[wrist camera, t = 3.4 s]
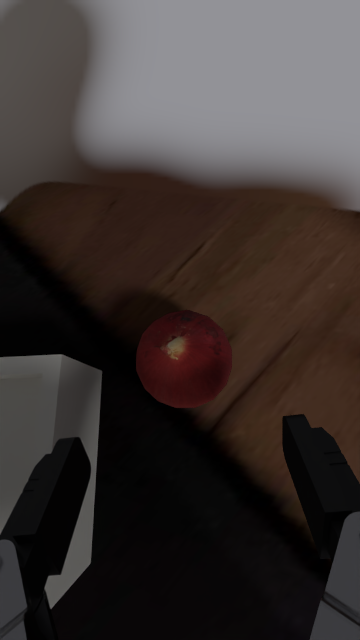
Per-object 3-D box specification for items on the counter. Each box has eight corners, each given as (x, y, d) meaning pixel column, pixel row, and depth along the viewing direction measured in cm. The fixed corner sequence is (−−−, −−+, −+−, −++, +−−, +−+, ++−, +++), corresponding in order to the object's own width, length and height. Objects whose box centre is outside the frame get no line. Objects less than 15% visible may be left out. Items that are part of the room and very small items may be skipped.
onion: (166, 320, 23) (143, 272, 16) (239, 343, 22) (251, 303, 14) (138, 393, 22) (97, 379, 14) (214, 422, 20) (213, 423, 13)
